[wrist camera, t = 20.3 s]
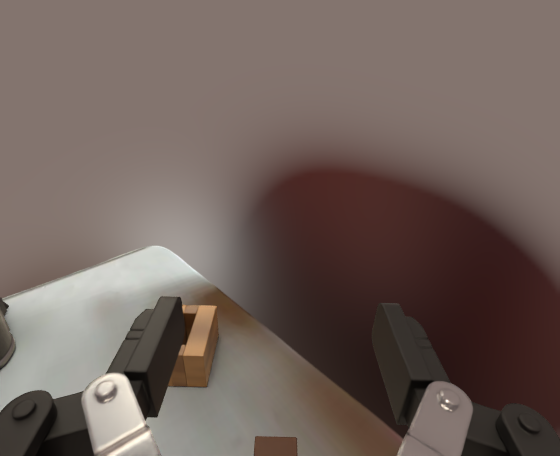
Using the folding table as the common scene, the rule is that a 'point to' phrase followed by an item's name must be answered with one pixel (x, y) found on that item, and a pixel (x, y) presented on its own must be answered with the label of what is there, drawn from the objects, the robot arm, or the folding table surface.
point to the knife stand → (196, 347)
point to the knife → (275, 446)
